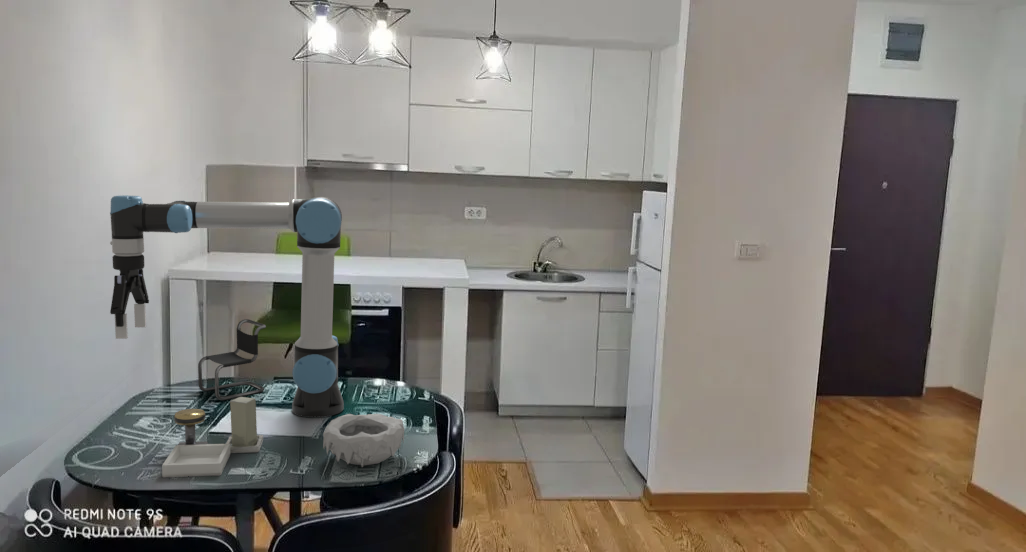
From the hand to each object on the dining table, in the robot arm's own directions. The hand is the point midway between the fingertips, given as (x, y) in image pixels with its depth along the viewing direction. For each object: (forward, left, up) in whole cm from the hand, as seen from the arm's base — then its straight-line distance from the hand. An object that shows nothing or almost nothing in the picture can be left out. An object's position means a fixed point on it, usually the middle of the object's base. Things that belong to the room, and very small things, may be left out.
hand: (131, 332), depth 205 cm
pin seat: (-31, +15, -27) cm, 44 cm away
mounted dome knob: (-18, +16, -27) cm, 36 cm away
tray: (-22, +27, -27) cm, 44 cm away
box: (-31, +15, -28) cm, 44 cm away
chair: (-20, -34, -28) cm, 48 cm away
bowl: (-62, +27, -28) cm, 73 cm away
